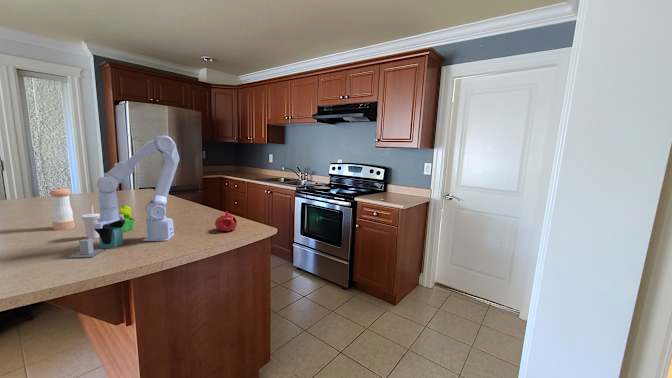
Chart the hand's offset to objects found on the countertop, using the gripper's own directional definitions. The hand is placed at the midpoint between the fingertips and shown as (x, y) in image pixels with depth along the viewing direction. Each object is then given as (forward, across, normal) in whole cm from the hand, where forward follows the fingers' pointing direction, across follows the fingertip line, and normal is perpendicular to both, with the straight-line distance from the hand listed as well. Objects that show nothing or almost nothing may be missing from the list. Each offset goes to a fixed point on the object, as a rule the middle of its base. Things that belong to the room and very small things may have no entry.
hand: (111, 241), depth 109 cm
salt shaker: (+2, -26, -34) cm, 43 cm away
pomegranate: (+2, -19, +39) cm, 43 cm away
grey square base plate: (+2, +9, -3) cm, 10 cm away
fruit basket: (+2, -22, -8) cm, 23 cm away
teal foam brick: (+2, 0, 0) cm, 2 cm away
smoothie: (+2, -11, -13) cm, 17 cm away
